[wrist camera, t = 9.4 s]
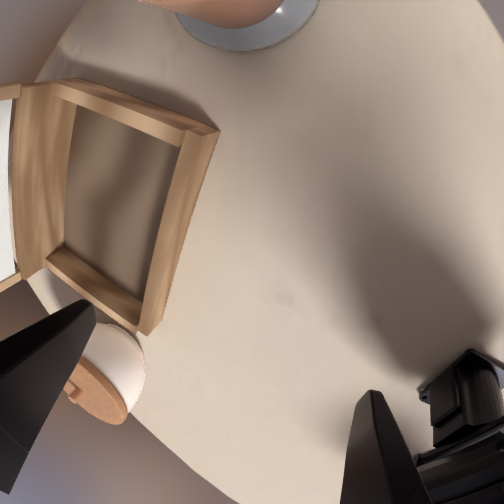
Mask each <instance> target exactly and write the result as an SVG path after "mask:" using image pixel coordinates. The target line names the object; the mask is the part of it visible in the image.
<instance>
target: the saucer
mask: <svg viewBox="0 0 504 504" xmlns="http://www.w3.org/2000/svg"><path fill="white" fill-rule="evenodd" d="M319 1H320V0H284V1H283V3H282V4H281V6H280V7H279V8H278V9H277V10H276V11H275V12H274V13H273V14H272V15H271V16H269V17H268V18H266V19H265V20H263V21H261V22H259V23H257V24H255V25H252V26H249V27H245V28H239V29H226V28H221V27H217V26H214V25H212V24H209V23H206V22H204V21H201V20H198V19H195V18H192V17H190V16H187V15H184V14H181V13H178V12H176V15H177V18H178V20H179V21H180V23H181V25H182V26H183V27H184V29H185V30H186V31H187V32H188V33H189V34H190V35H192V36H193V37H194V38H196V39H197V40H199V41H201V42H203V43H205V44H207V45H210V46H213V47H217V48H220V49H225V50H229V51H255V50H260V49H264V48H268V47H271V46H273V45H276V44H278V43H280V42H282V41H284V40H286V39H288V38H289V37H291V36H292V35H294V34H295V33H296V32H298V31H299V30H300V29H301V28H302V27H303V26H304V25H305V24H306V23H307V22H308V21H309V19H310V18H311V17H312V15H313V14H314V12H315V10H316V8H317V6H318V3H319Z"/></svg>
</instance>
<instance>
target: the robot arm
mask: <svg viewBox="0 0 504 504" xmlns="http://www.w3.org/2000/svg"><path fill="white" fill-rule="evenodd" d="M96 321H97V320H96V314H95V309H94V305H93V303H91V302H89V301H87V300H84V299H81V300H79V301H77V302H75V303H73V304H71V305H69V306H67V307H65V308H63V309H61V310H59V311H57V312H55V313H53V314H51V315H49V316H47V317H45V318H43V319H41V320H39V321H38V322H35V323H34V324H32V325H30V326H28V327H26V328H24V329H22V330H20V331H18V332H16V333H15V334H13V335H11V336H9V337H7V338H5V339H3V340H1V341H0V491H2V492H4V493H7V494H9V493H10V492H11V490H12V487H13V485H14V483H15V481H16V479H17V476H18V474H19V472H20V470H21V468H22V466H23V464H24V462H25V460H26V458H27V455H28V452H29V451H30V449H31V447H32V445H33V443H34V441H35V439H36V437H37V435H38V433H39V432H40V429H41V427H42V426H43V424H44V422H45V420H46V418H47V416H48V415H49V413H50V411H51V409H52V407H53V405H54V404H55V402H56V400H57V398H58V396H59V395H60V393H61V391H62V390H63V388H64V386H65V384H66V383H67V381H68V379H69V377H70V376H71V374H72V372H73V371H74V369H75V367H76V366H77V364H78V362H79V360H80V358H81V356H82V353H83V351H84V349H85V347H86V345H87V343H88V341H89V338H90V336H91V334H92V332H93V330H94V328H95V326H96ZM470 355H471V356H470ZM503 388H504V368H503V367H502V366H500V365H498V364H497V363H495V362H493V361H492V360H490V359H488V358H487V357H485V356H483V355H482V354H480V353H478V352H477V351H475V350H473V349H469V350H467V351H466V352H465V353H464V354H463V355H462V356H461V357H460V358H459V359H457V360H456V361H455V362H454V363H453V364H452V365H451V366H450V367H449V368H448V369H447V370H446V371H445V372H443V373H442V374H441V375H440V376H439V377H438V378H437V379H436V380H434V381H433V382H432V383H431V384H430V385H429V386H427V387H426V388H425V389H424V390H423V391H422V392H420V394H419V399H420V400H421V401H423V402H425V403H427V404H430V416H431V426H433V447H435V449H432V450H430V451H427V452H425V453H422V454H421V453H419V454H417V455H414V457H413V458H412V456H411V454H410V452H409V449H408V447H407V445H406V443H405V441H404V438H403V436H402V434H401V432H400V430H399V428H398V425H397V423H396V421H395V419H394V417H393V415H392V413H391V411H390V408H389V406H388V404H387V402H386V400H385V398H384V396H383V394H382V393H381V392H380V391H376V390H368V391H367V392H366V393H365V394H364V395H363V396H362V398H361V399H360V400H359V401H358V402H357V404H356V407H355V411H354V416H353V422H352V426H351V431H350V436H349V441H348V446H347V452H346V460H345V469H344V477H343V484H342V492H341V499H340V504H504V401H503V396H502V392H501V390H502V389H503Z"/></svg>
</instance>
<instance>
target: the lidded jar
mask: <svg viewBox="0 0 504 504" xmlns="http://www.w3.org/2000/svg"><path fill="white" fill-rule="evenodd" d="M144 382H145V366H144V354H143V351H142V349H141V347H140V345H139V344H138V342H137V341H136V340H135V339H134V338H133V336H132V335H131V334H129V333H128V332H127V331H126V330H124V329H123V328H121V327H120V326H118V325H115V324H112V323H107V324H103V323H96V326H95V328H94V330H93V332H92V334H91V336H90V338H89V341H88V343H87V345H86V347H85V349H84V351H83V353H82V356H81V358H80V360H79V362H78V364H77V366H76V367H75V369H74V371H73V372H72V374H71V376H70V377H69V379H68V381H67V383H66V384H65V386H64V388H63V389H64V390H65V391H66V392H67V394H68V395H69V396H68V398H69V399H70V400H71V401H72V402H73V403H76V402H77V403H78V404H79V405H80V406H81V407H82V408H84V409H85V410H86V411H88V412H89V413H90V414H92V415H94V416H95V417H97V418H99V419H100V420H103V421H105V422H107V423H110V424H116V425H118V424H121V423H122V422H123V421H124V420H125V419H126V417H127V415H128V413H129V412H130V410H131V409H132V408H133V406H134V405H135V403H136V402H137V400H138V398H139V396H140V394H141V392H142V389H143V386H144Z"/></svg>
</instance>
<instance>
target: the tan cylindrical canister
mask: <svg viewBox="0 0 504 504" xmlns="http://www.w3.org/2000/svg"><path fill="white" fill-rule="evenodd" d="M136 1H140V2H144V3H148V4H151V5H155V6H158V7H162V8H165V9H168V10H171V11H175V12H178V13H181V14H184V15H187V16H190V17H192V18H195V19H198V20H201V21H204V22H206V23H209V24H212V25H214V26H217V27H221V28H226V29H239V28H245V27H249V26H252V25H255V24H257V23H259V22H261V21H263V20H265V19H266V18H268V17H269V16H271V15H272V14H273V13H274V12H275V11H276V10H277V9H278V8H279V7H280V6H281V4H282V3H283V1H284V0H136Z"/></svg>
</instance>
